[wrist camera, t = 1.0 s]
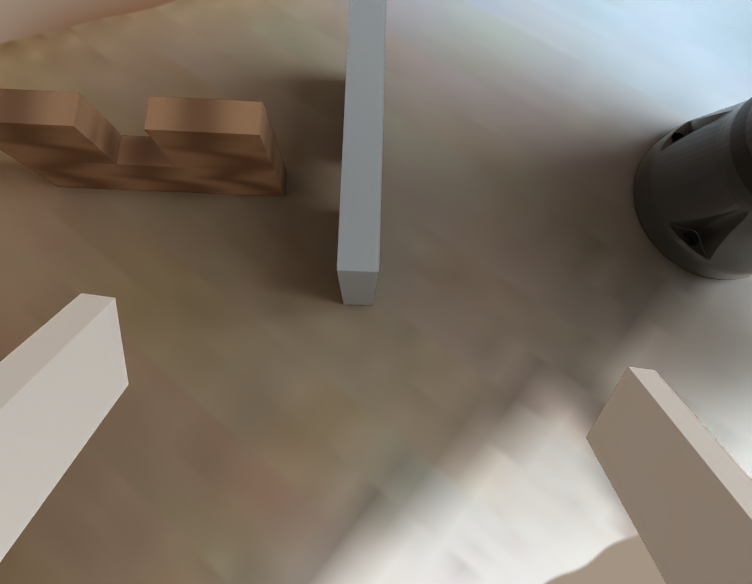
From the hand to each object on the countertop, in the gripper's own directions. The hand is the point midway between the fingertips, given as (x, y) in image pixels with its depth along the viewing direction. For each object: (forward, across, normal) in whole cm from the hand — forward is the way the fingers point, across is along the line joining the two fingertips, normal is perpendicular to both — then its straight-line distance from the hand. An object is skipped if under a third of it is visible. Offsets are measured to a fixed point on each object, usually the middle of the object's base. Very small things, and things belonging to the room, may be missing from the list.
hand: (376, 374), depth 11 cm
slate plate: (+30, 0, -4) cm, 30 cm away
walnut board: (+30, -17, -6) cm, 35 cm away
